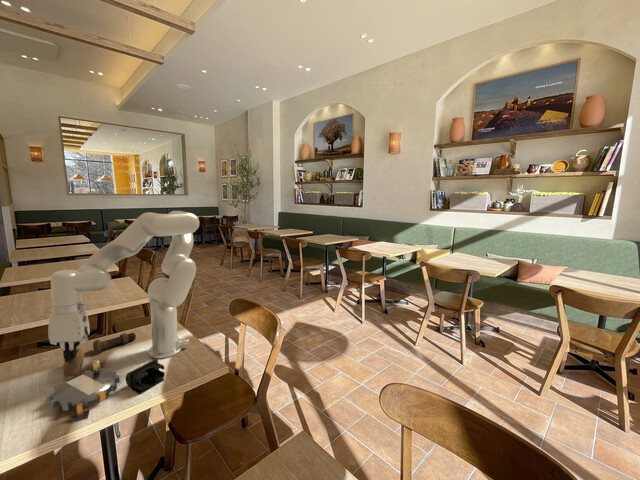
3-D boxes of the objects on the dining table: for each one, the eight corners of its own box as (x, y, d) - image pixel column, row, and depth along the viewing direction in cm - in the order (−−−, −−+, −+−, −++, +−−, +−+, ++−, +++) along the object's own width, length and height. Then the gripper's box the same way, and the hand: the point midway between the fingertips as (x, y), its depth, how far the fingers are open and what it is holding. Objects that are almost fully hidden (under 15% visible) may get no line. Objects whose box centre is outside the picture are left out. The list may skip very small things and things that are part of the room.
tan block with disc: (84, 361, 116) (82, 345, 115) (78, 378, 106) (77, 361, 105) (71, 363, 114) (69, 348, 113) (64, 381, 104) (62, 364, 103)
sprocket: (99, 368, 109) (98, 352, 108) (131, 383, 102) (130, 366, 101) (36, 397, 93) (34, 379, 92) (68, 418, 86) (66, 398, 85)
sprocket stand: (99, 386, 102) (98, 376, 101) (92, 416, 89) (91, 404, 88) (76, 392, 99) (75, 381, 98) (66, 423, 86) (64, 411, 85)
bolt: (135, 344, 134) (96, 356, 122) (131, 335, 136) (92, 347, 124) (138, 335, 132) (98, 347, 119) (134, 327, 134) (94, 338, 122)
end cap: (153, 373, 111) (152, 356, 109) (165, 379, 107) (165, 362, 106) (125, 388, 102) (124, 370, 101) (138, 395, 99) (137, 377, 98)
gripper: (99, 303, 103) (101, 353, 105) (49, 303, 100) (52, 354, 103) (86, 312, 96) (88, 365, 98) (32, 312, 93) (36, 366, 95)
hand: (70, 359), depth 100 cm, fingers closed
